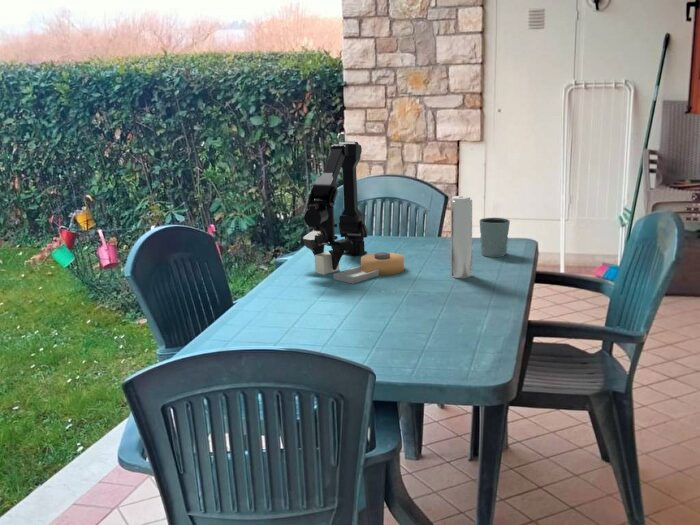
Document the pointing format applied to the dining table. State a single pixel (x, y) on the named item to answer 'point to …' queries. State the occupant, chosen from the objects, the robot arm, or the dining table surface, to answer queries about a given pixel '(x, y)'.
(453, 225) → the white tall cylinder
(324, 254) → the cream rectangular block
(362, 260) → the orange and grey base
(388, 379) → the dining table surface
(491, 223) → the grey plant pot
